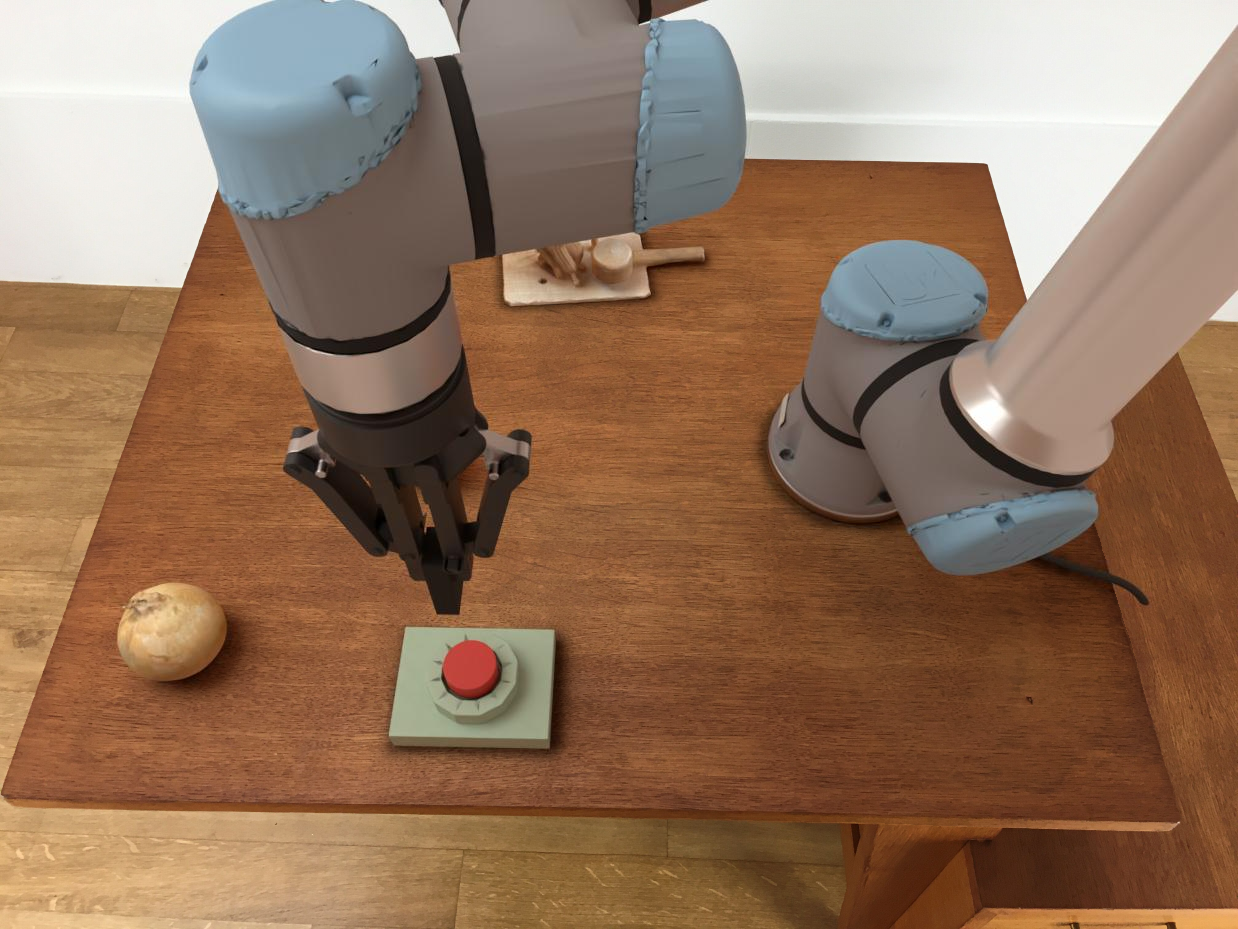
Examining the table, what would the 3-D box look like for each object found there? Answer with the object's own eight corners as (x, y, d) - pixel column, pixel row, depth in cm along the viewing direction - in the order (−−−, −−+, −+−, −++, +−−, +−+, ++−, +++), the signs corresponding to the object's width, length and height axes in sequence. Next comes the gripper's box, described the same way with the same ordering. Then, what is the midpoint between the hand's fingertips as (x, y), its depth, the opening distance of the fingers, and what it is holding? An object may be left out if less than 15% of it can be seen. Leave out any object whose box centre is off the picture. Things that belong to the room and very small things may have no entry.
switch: (500, 649, 75) (498, 640, 73) (496, 699, 73) (493, 690, 71) (449, 648, 75) (446, 639, 73) (443, 698, 73) (439, 689, 71)
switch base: (555, 640, 79) (553, 619, 76) (549, 749, 74) (547, 730, 71) (410, 638, 79) (401, 616, 76) (393, 746, 74) (383, 727, 71)
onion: (239, 597, 81) (210, 555, 75) (232, 686, 77) (202, 648, 71) (140, 610, 80) (104, 569, 75) (128, 700, 76) (88, 664, 70)
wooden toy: (501, 306, 101) (488, 203, 90) (501, 239, 107) (489, 134, 96) (710, 298, 102) (723, 194, 91) (698, 232, 108) (709, 127, 97)
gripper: (529, 299, 46) (552, 548, 65) (257, 295, 46) (360, 545, 65) (518, 424, 42) (546, 650, 61) (218, 419, 42) (341, 647, 61)
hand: (450, 595), depth 63 cm, fingers closed
